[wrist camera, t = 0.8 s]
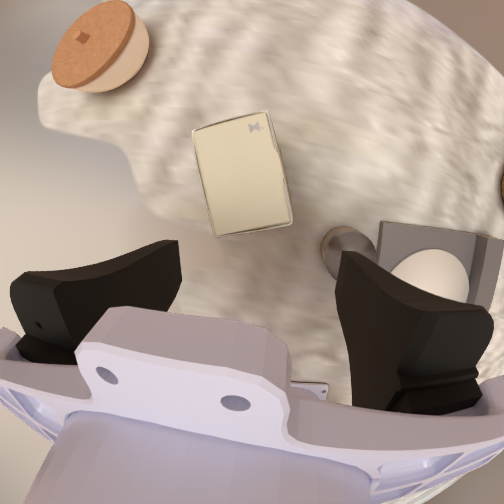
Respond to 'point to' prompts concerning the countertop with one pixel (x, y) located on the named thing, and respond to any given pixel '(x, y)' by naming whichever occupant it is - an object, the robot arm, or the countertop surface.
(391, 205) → the countertop surface
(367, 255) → the cylinder
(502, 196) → the squeeze bottle
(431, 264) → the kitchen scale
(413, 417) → the robot arm
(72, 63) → the lidded jar
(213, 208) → the skincare box
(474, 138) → the countertop surface
